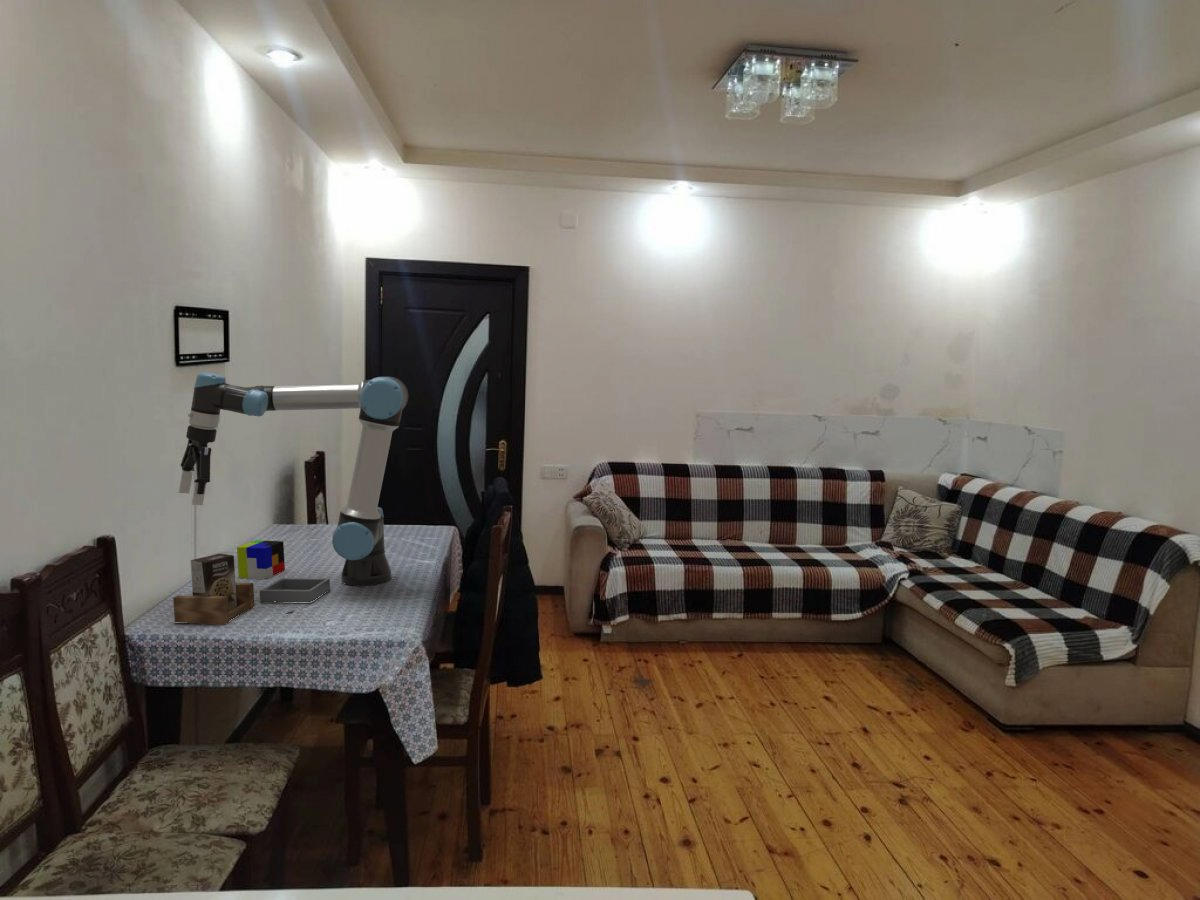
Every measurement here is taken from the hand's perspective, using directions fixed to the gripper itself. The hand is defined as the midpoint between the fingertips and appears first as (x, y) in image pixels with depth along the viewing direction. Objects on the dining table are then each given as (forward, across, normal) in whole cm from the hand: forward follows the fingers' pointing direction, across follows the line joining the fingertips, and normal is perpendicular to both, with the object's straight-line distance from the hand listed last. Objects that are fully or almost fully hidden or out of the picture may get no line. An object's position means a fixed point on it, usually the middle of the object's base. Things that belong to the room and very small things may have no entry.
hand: (190, 498), depth 234 cm
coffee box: (+26, +24, +4) cm, 36 cm away
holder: (+26, +24, +4) cm, 36 cm away
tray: (+22, +22, +27) cm, 41 cm away
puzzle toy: (+27, -11, +29) cm, 41 cm away
